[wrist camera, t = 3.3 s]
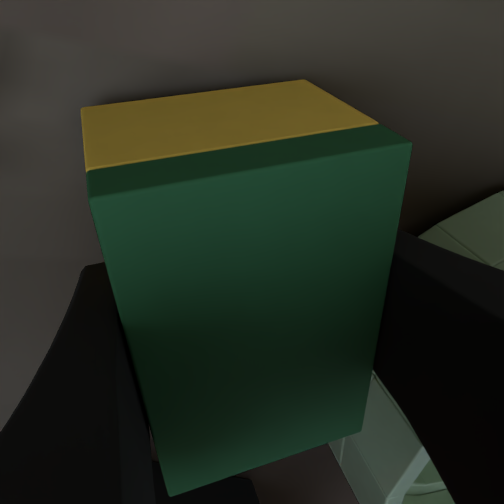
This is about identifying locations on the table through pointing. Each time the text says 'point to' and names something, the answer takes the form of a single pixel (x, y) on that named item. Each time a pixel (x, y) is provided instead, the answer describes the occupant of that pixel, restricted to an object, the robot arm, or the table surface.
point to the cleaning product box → (206, 491)
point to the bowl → (385, 407)
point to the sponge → (246, 265)
